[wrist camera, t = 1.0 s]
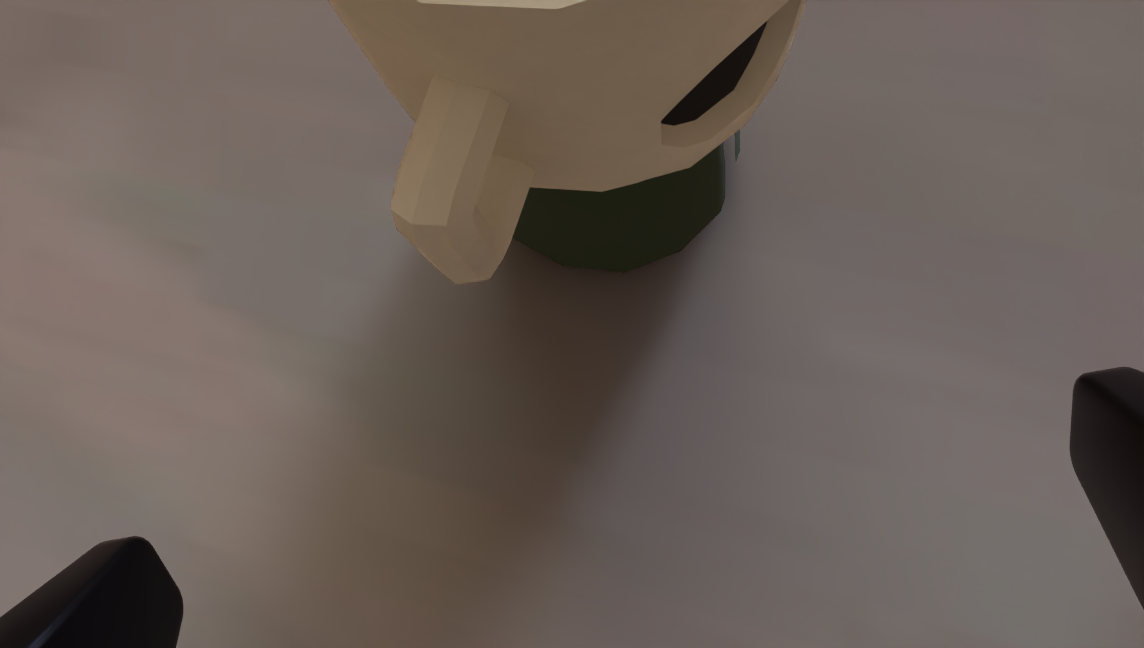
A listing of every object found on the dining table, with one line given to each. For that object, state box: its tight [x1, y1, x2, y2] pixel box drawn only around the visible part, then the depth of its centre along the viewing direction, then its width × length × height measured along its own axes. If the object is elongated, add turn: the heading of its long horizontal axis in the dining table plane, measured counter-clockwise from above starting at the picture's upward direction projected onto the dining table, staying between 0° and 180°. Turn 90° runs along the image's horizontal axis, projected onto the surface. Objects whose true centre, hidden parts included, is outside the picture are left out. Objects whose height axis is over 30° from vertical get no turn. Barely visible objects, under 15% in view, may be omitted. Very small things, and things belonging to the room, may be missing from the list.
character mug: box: [328, 0, 806, 285], centre depth 16 cm, size 11×7×13 cm, turn 162°
